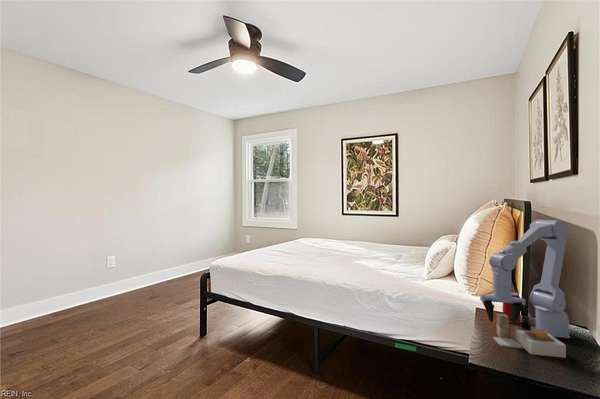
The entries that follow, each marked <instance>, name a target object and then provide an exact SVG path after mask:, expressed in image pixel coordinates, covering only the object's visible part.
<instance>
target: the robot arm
mask: <svg viewBox="0 0 600 399" xmlns="http://www.w3.org/2000/svg"><path fill="white" fill-rule="evenodd" d="M569 231H570V228H569V226H568V224H566V222H565V221H563V220H560V219H557V220H553V219H540V218H539V219H537V218H536V219H535V220H533V221H532V222H531V223H530V224H529V229H527V231H526V232H525V233H524V234H523V235H522V236H521V237H520V238H519V239H518V240H513V241H509V242H508V244H507V245H506V246H505V247H504V248H502V249H501V250H500V251H499V252H497V253H496V252H495V253H493V254H492V255H491V256H490V258H489V259H488V263H489V265H490V267H491V271H492V274H493V275H492V280H493V281H492V294H488V295H487V294H480V295H479V300H480V302H481V303H482V304H483V305H484V308H485V311H486V313H487V317H488V321H490V322H491V323H493V322H494V309H495V305H494V304H493V303H502V304H503V303H510V307H511V322H512V324H514V325H517V323H516V322H517V318H518V316H519V314H520V312H522V311H523V310H524V306H525V305H526V299H525V298H523V297H520V298H516V297H511V292H512V271H513V270H514V269H515V268H516V265H517V262H518V260H519V259H520V258H521V257H522V256H523V255H525V254H526V253H527V251H528V250H527V247H529V246H530V245H532V244H533V243H534V242H536V241H537V240H538V239H540V240H542V241H544V242H545V244H546V249H545V255H544V262H543V268H542V272H541V273H542V274H541V279H540V282H539V283H537V284H535V285H534V286H533V288H532V291H531V292H530V294H529V300H530V303H531V304H532V305H533V307H534V308H535V326H532V325H531V326H530V329H542V330H543V331H545V332H546V333H548V334H550V335H551V336H553V337H554V338H565V339H571V336H570V321H569V316H568V314H567V313H566V312H565V311H564V310H565V309H566V305H567V304H566V303H567V302H566V293H565V292H564V291H563V289H561V288H560V287H559V285H560V278H561V273H562V268H563V261H564V258H565V257H564V255H565V251H566V244H567V241H568V235H569Z"/></svg>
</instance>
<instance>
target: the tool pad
mask: <svg viewBox="0 0 600 399" xmlns="http://www.w3.org/2000/svg"><path fill="white" fill-rule="evenodd" d="M493 340H494V341H495V342H496V343H497V344H498V345H499V346H500V347H503V348H514V349H523V347H522V346H521V345H520V344H519V343H517V342H516V341H515V339H514V338H509V337H508V338H500V337H499V336H493Z"/></svg>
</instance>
